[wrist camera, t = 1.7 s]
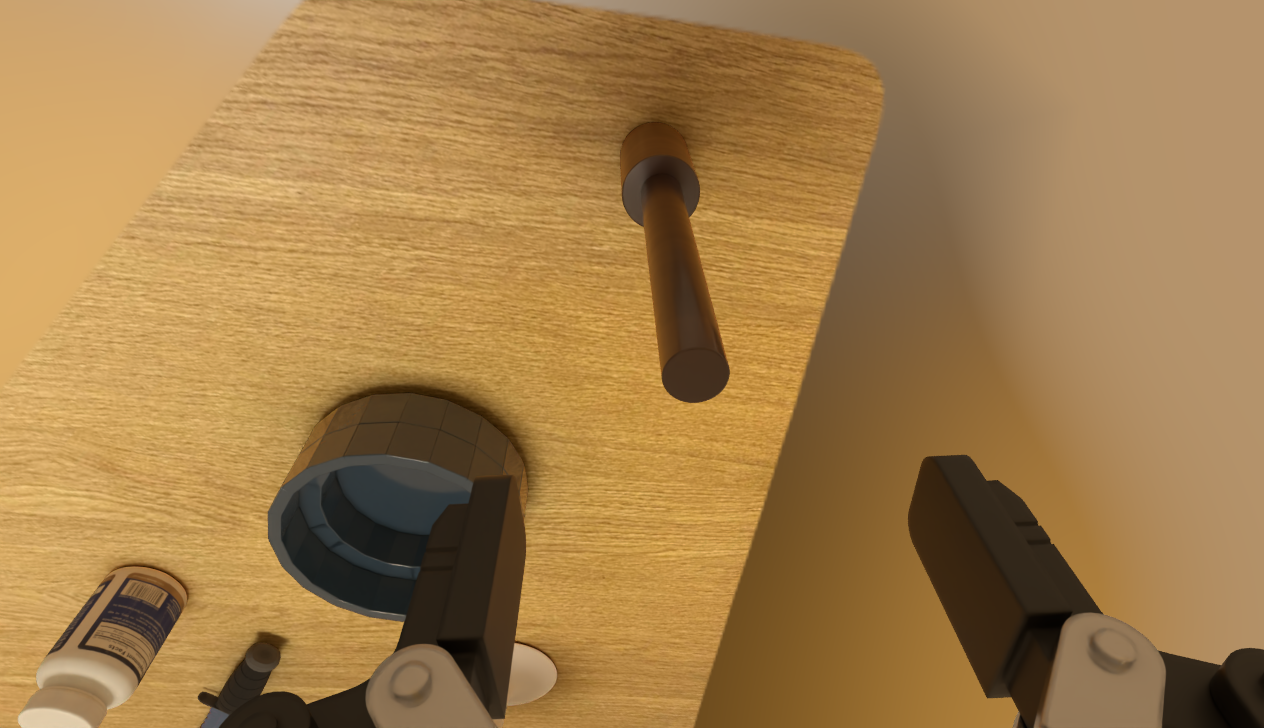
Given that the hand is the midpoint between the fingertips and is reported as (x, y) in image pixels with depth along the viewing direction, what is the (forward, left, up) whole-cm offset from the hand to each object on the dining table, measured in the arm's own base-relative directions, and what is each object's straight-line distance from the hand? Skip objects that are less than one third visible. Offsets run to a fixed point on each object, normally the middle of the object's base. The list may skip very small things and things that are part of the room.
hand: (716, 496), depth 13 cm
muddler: (0, 0, -22) cm, 22 cm away
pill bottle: (+29, -36, -22) cm, 51 cm away
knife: (+44, -37, -22) cm, 62 cm away
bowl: (+19, -15, -22) cm, 33 cm away
